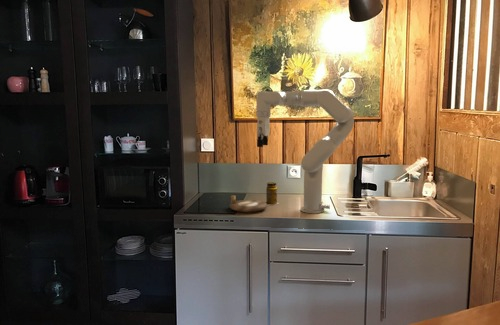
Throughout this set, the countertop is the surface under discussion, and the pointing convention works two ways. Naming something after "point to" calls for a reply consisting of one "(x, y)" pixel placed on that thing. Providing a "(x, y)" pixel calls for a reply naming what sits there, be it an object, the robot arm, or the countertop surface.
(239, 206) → the brown round disc
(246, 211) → the base
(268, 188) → the condiment
